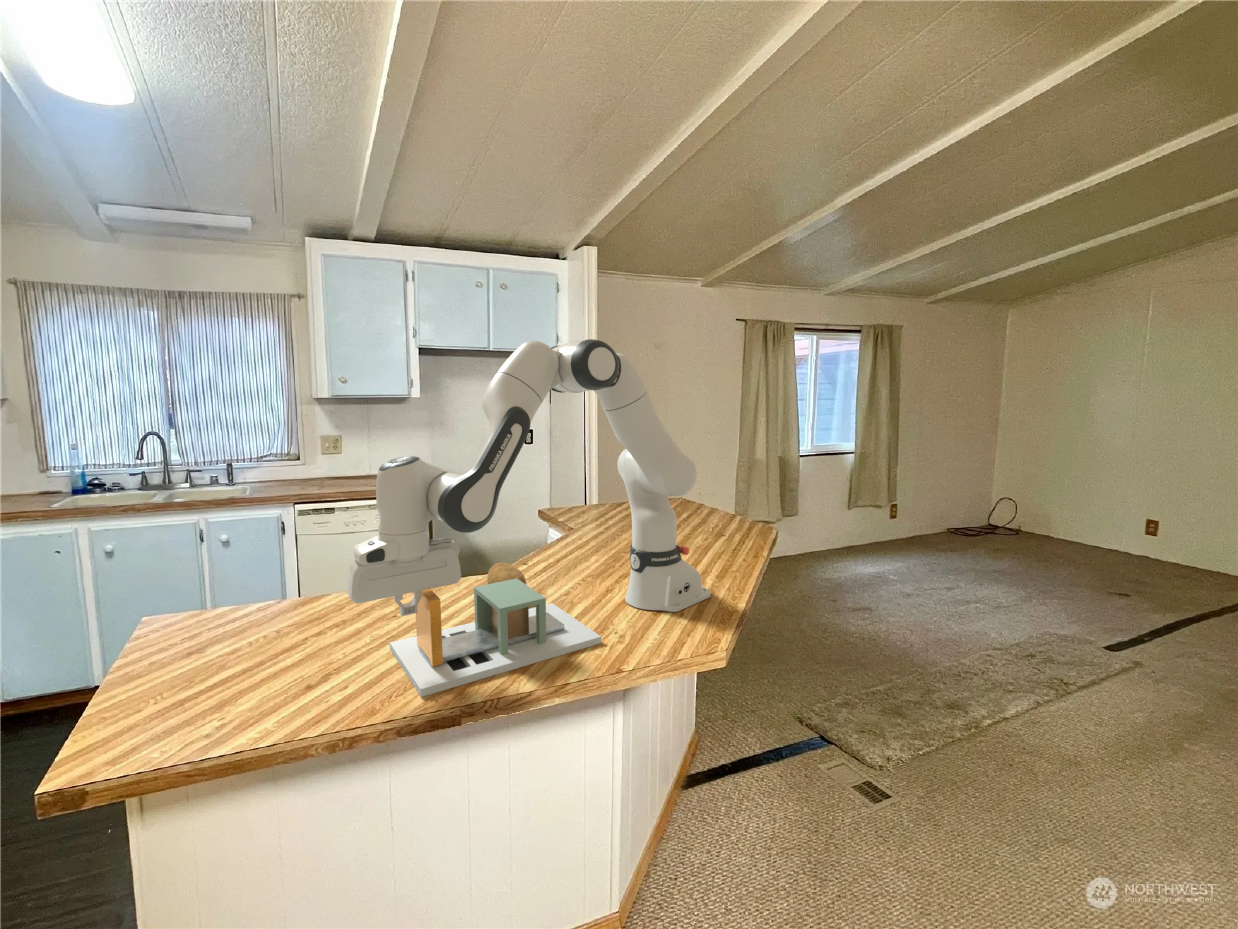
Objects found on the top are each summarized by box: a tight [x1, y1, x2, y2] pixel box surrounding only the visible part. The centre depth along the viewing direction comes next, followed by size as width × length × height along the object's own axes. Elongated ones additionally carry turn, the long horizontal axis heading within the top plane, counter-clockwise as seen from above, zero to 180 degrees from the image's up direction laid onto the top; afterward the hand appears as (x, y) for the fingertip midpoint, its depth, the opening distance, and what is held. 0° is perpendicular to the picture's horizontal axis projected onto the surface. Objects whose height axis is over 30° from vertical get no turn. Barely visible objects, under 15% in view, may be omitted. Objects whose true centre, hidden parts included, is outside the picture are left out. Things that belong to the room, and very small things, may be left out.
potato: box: [486, 562, 527, 585], centre depth 151 cm, size 10×14×8 cm
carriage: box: [415, 588, 565, 667], centre depth 123 cm, size 29×10×13 cm, turn 124°
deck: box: [389, 603, 602, 698], centre depth 125 cm, size 38×22×2 cm, turn 124°
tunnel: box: [473, 578, 547, 655], centre depth 125 cm, size 10×14×10 cm
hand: (408, 614), depth 113 cm, fingers closed
